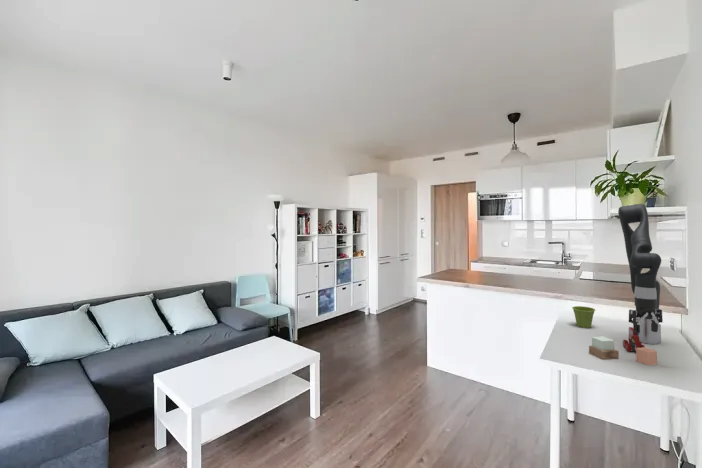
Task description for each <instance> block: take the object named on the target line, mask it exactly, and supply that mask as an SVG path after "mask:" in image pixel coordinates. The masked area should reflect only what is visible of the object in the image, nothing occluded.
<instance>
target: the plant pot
mask: <svg viewBox="0 0 702 468" xmlns="http://www.w3.org/2000/svg"><path fill="white" fill-rule="evenodd" d="M571 309H572V310H573V313H574V317H575V323H576V326H577V327H578V328H583V329H590V328H592V323H593V318H594V314H595V311H596V308H593V307H589V306H581V305H578V306H577V305H576V306H571Z"/></svg>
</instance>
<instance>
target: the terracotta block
mask: <svg viewBox="0 0 702 468" xmlns="http://www.w3.org/2000/svg"><path fill="white" fill-rule="evenodd" d="M635 359H636V360H635V361H636V362H639V363H641V364H643V365H646V366H652V365H653V366H655V365H658V351H657V350H654V349H651V348H650V347H644V348H636V351H635Z"/></svg>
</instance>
